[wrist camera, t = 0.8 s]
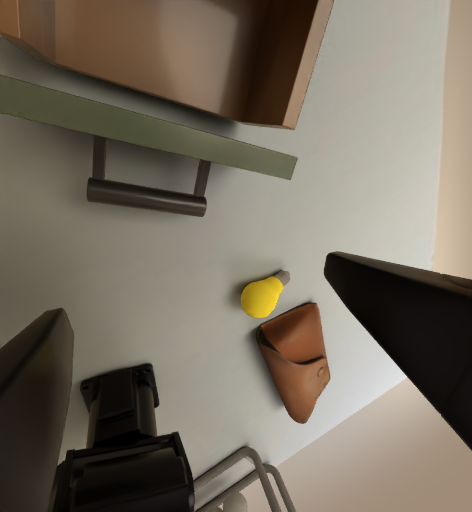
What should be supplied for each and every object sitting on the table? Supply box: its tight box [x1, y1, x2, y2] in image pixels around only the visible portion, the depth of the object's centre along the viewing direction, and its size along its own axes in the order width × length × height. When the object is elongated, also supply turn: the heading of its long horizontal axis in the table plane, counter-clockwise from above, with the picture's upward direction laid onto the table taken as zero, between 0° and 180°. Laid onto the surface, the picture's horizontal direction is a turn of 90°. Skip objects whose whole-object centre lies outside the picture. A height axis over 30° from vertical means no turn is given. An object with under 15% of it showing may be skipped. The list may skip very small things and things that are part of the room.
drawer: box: [0, 0, 334, 217], centre depth 13 cm, size 16×13×7 cm
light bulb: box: [241, 271, 290, 318], centre depth 26 cm, size 3×6×4 cm, turn 112°
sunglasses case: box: [256, 303, 330, 424], centre depth 34 cm, size 18×7×7 cm
